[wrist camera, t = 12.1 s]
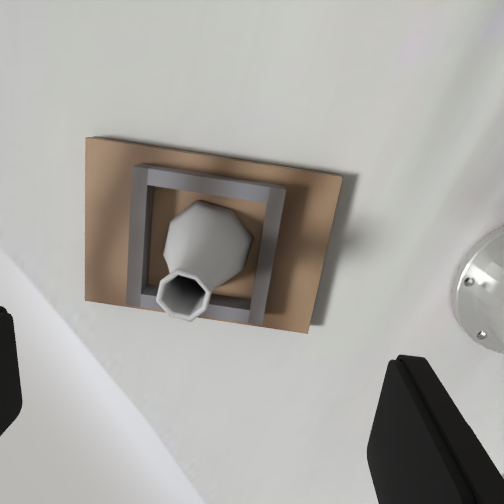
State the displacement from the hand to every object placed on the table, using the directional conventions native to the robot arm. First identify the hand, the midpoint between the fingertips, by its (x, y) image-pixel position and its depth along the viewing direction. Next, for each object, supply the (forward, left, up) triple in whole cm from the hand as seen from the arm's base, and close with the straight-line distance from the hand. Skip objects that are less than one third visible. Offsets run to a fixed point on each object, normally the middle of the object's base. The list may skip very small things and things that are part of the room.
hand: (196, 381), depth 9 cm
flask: (+3, +4, -22) cm, 23 cm away
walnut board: (+3, +4, -24) cm, 24 cm away
